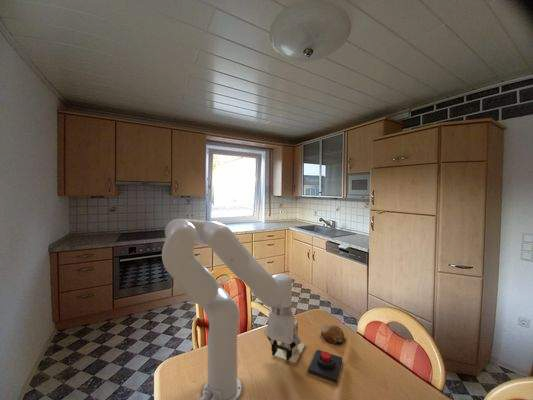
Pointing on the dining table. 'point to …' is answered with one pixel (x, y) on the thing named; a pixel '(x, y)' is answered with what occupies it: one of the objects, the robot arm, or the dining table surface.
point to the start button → (325, 357)
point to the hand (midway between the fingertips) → (281, 355)
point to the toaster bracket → (295, 351)
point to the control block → (326, 367)
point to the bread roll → (332, 334)
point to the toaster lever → (281, 346)
